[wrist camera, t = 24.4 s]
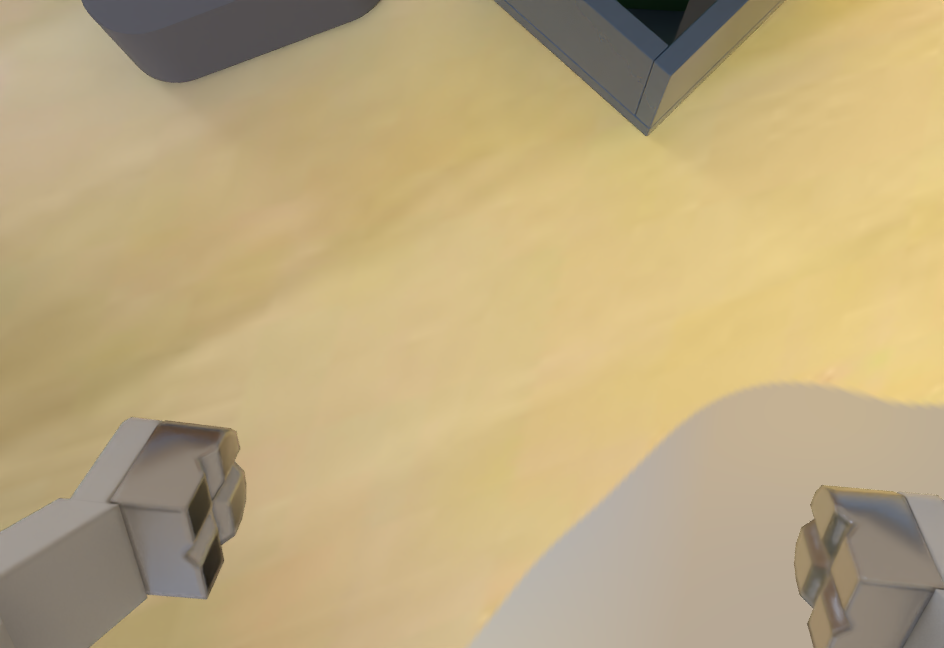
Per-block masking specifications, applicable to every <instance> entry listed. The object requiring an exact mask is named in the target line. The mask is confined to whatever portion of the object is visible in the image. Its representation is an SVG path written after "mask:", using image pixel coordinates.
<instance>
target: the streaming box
mask: <svg viewBox="0 0 944 648" xmlns="http://www.w3.org/2000/svg"><path fill="white" fill-rule="evenodd" d="M379 1H380V0H82V3H83V5H84V7H85V9H86V10H87V12H88V13H89V14H90V16H91V17H92V18H93V19H94V20H95V21H96V22H97V23H98V24H99V25H100V26H101V27H102V28H103V30H104V31H105V32H106V33H107V34H108V35H109V36H110V37H111V38H112V39H113V40H114V41H115V42H116V44H117V45H118V46H119V47H120V48H121V49H122V50H123V51H124V52H125V53H126V54H127V55H128V56H129V58H130V59H131V60H132V61H133V62H134V63H135V64H136V65H137V66H138V67H139V68H140V69H141V70H142V71H143V72H145V73H146V74H147V75H149V76H151V77H153V78H155V79H158V80H161V81H165V82H178V83H180V82H187V81H191V80H195V79H198V78H201V77H203V76H206V75H209V74H211V73H214V72H217V71H220V70H222V69H225V68H228V67H230V66H233V65H236V64H238V63H241V62H244V61H246V60H249V59H252V58H254V57H257V56H260V55H262V54H265V53H268V52H270V51H273V50H276V49H278V48H281V47H284V46H287V45H289V44H292V43H295V42H297V41H300V40H303V39H305V38H308V37H311V36H313V35H316V34H319V33H321V32H324V31H327V30H329V29H332V28H335V27H337V26H340V25H343V24H345V23H348V22H351V21H353V20H355V19H358V18H360V17H362V16H363V15H365V14H366V13H368V12H369V11H370V10H371V9H372V8H374V7H375V5H376V4H377V3H378V2H379Z"/></svg>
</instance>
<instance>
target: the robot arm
mask: <svg viewBox="0 0 944 648" xmlns="http://www.w3.org/2000/svg"><path fill="white" fill-rule="evenodd" d="M239 450H240V445H239V441H238V436H237V432H236V431H235V430H233V429H231V428H224V427H216V426H208V425H199V424H191V423H183V422H175V421H166V420H165V421H160V420H152V419H144V418H136V417H131V418H129V419H127V420H126V421H124V422H123V423H122V424H121V425H120V426H119V428H118V429H117V431H116V432H115V433H114V435H113V436H112V438H111V439H110V441H109V442H108V444H107V445H106V447H105V448H104V450H103V451H102V452H101V454H100V455H99V457H98V458H97V460H96V461H95V463H94V464H93V466H92V467H91V469H90V470H89V471H88V473H87V474H86V476H85V477H84V479H83V480H82V482H81V483H80V485H79V486H78V488H77V489H76V490H75V492H74V493H73V495H72V496H71V498H70V499H64V498H59V499H57V500H55V501H54V502H52V503H50V504H48V505H46V506H45V507H43V508H41V509H39V510H38V511H36V512H34V513H32V514H31V515H29V516H27V517H25V518H24V519H22V520H20V521H18V522H17V523H15V524H13V525H11V526H10V527H8V528H6V529H4V530H3V531H1V532H0V648H89V647H90V646H92V645H93V644H94V643H95V642H96V641H97V640H99V639H100V638H101V637H102V636H103V635H104V634H106V633H107V632H108V631H109V630H110V629H112V628H113V627H114V626H115V625H116V624H117V623H119V622H120V621H121V620H122V619H123V618H124V617H126V616H127V615H128V614H129V613H130V612H131V611H133V610H134V609H135V608H136V607H137V606H138V605H140V604H141V603H142V602H143V601H144V600H145V599H147V594H148V595H160V596H172V597H184V598H196V599H207V598H208V596H209V594H210V591H211V589H212V587H213V585H214V582H215V580H216V578H217V576H218V573H219V571H220V569H221V567H222V564H223V562H224V557H223V553H222V548H221V545H222V544H224V543H225V542H226V541H228V540H229V539H231V538H232V537H233V536H235V534H236V532H237V530H238V527H239V525H240V522H241V520H242V516H243V511H244V507H245V502H246V479H245V473H244V470H243V469H242V468H241V467H240V466H239V465H238V464H237V463H236V462H235V459H236V456H237V454H238V452H239ZM810 505H811V509H812V512H813V516H814V520H812V521H810V522H809V523H807V524H806V525H804V526H803V527H802V528H801V531H800V533H799V536H798V539H797V542H796V548H795V561H794V566H795V575H796V582H797V586H798V589H799V594H800V596H801V597H802V598H803V599H804V600H805V601H806V602H807V603H808V604H809V605H810V606H811V607H812V608H813V611H812V614H811V616H810V618H809V621H808V623H807V625H808V628H809V632H810V636H811V639H812V643H813V647H814V648H944V500H943V499H942V498H940V497H939V496H938V495H931V494H919V493H908V492H897V493H896V492H893V491H882V490H871V489H859V488H848V487H837V486H824V485H822V486H821V487H820V488H819V489H818V490H817V491H816V492H815V494H814V497H813V499H812V502H811V504H810Z"/></svg>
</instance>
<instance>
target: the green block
mask: <svg viewBox="0 0 944 648" xmlns="http://www.w3.org/2000/svg"><path fill="white" fill-rule="evenodd" d="M617 1H618V2H619V3H620V4H621V5H623V6H624V7H625V8H633V9H651V10H669V11H685V10H686V8H687V5H688V2H689V0H617Z"/></svg>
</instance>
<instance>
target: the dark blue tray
mask: <svg viewBox="0 0 944 648" xmlns="http://www.w3.org/2000/svg"><path fill="white" fill-rule="evenodd" d="M494 1H495V2H496V3H497V4H499V5H500V6H501V7H502V8H503V9H504V10H505V11H506V12H508V13H509V14H510V15H511V16H512V17H513V18H514V19H515V20H517V21H518V22H519V23H520V24H521V25H522V26H523V27H524V28H525V29H527V30H528V31H529V32H530V33H531V34H532V35H533V36H534V37H536V38H537V39H538V40H539V41H540V42H541V43H542V44H543V45H545V46H546V47H547V48H548V49H549V50H550V51H551V52H552V53H553V54H555V55H556V56H557V57H558V58H559V59H560V60H561V61H562V62H564V63H565V64H566V65H567V66H568V67H569V68H570V69H571V70H573V71H574V72H575V73H576V74H577V75H578V76H579V77H580V78H582V79H583V80H584V81H585V82H586V83H587V84H588V85H589V86H590V87H592V88H593V89H594V90H595V91H596V92H597V93H598V94H599V95H601V96H602V97H603V98H604V99H605V100H606V101H607V102H608V103H610V104H611V105H612V106H613V107H614V108H615V109H616V110H617V111H618V112H620V113H621V114H622V115H623V116H624V117H625V118H626V119H627V120H629V121H630V122H631V123H632V124H633V125H634V126H635V127H636V128H638V129H639V130H640V131H641V132H642V133H643V134H644V135H645V136H648V135H649V134H650V133H651V132H652V131H653V130H654V129H655V128H656V127H657V126H658V125H659V124H660V123H661V122H662V121H663V120H664V119H665V118H666V117H667V116H668V115H669V114H670V113H671V112H672V111H673V110H674V109H676V108H677V107H678V106H679V105H680V104H681V103H682V102H683V101H684V100H685V99H686V98H687V97H688V96H689V95H690V94H691V93H692V92H693V91H694V90H695V89H696V88H697V87H698V86H699V85H700V84H701V83H702V82H703V81H704V80H705V79H706V78H707V77H708V76H709V75H710V74H711V73H712V72H713V71H714V70H715V69H716V68H717V67H718V66H719V65H720V64H721V63H722V62H723V61H724V60H725V59H726V58H727V57H729V56H730V55H731V54H732V53H733V52H734V51H735V50H736V49H737V48H738V47H739V46H740V45H741V44H742V43H743V42H744V41H745V40H746V39H747V38H748V37H749V36H750V35H751V34H752V33H753V32H754V31H755V30H756V29H757V28H758V27H759V26H760V25H761V24H762V23H763V22H764V21H765V20H766V19H767V18H768V17H769V16H770V15H771V14H772V13H773V12H774V11H775V10H776V9H777V8H778V7H779V6H780V5H782V4H783V3H784V2H785V1H786V0H689V2H688V5H687V8H686V10H685V11H669V10H651V9H633V8H625V7H624V6H623V5H621V4H620V3H619V2H618V1H617V0H494Z"/></svg>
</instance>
